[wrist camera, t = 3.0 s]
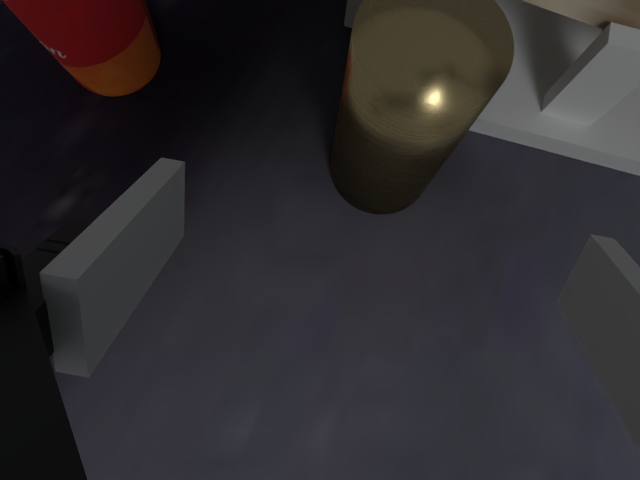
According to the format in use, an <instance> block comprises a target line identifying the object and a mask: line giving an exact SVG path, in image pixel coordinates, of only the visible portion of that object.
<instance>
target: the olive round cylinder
mask: <svg viewBox="0 0 640 480" xmlns="http://www.w3.org/2000/svg"><path fill="white" fill-rule="evenodd" d="M513 57H514V39H513V34H512V30H511V27H510V24H509V22H508V20H507V17H506V16H505V14H504V12H503V11H502V9H501V8H500V7H499V5H498V4H497V3H496V1H495V0H363V1H362V3H361V5H360V6H359V8H358V10H357V13H356V15H355V19H354V22H353V28H352V34H351V39H350V45H349V51H348V57H347V63H346V69H345V75H344V81H343V87H342V93H341V99H340V105H339V111H338V117H337V123H336V129H335V135H334V140H333V146H332V152H331V158H330V173H331V178H332V181H333V183H334V186H335V188H336V189H337V191H338V192H339V194H340V195H341V196H342V197H343V198H344V199H345V200H346V201H347V202H348V203H349V204H351V205H352V206H354V207H355V208H357V209H359V210H362V211H364V212H368V213H372V214H392V213H395V212H399V211H401V210H404V209H405V208H407V207H409V206H410V205H411V204H413V203H414V202H415V201H416V200H417V199H418V198H419V196H420V195H421V194H422V192H423V191H424V190H425V188H426V187H427V186H428V184H429V183H430V182H431V180H432V179H433V178H434V176H435V175H436V173H437V172H438V171H439V169H440V168H441V167H442V165H443V164H444V163H445V161H446V160H447V159H448V157H449V156H450V154H451V153H452V152H453V150H454V149H455V148H456V146H457V145H458V144H459V142H460V141H461V140H462V138H463V137H464V135H465V134H466V133H467V131H468V130H469V129H470V127H471V126H472V125H473V123H474V122H475V121H476V119H477V118H478V117H479V115H480V114H481V112H482V111H483V110H484V108H485V107H486V106H487V104H488V103H489V102H490V100H491V99H492V98H493V96H494V95H495V93H496V92H497V91H498V89H499V88H500V87H501V85H502V84H503V83H504V81H505V80H506V78H507V76H508V74H509V72H510V69H511V66H512V63H513Z"/></svg>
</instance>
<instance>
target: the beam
mask: <svg viewBox="0 0 640 480" xmlns="http://www.w3.org/2000/svg"><path fill="white" fill-rule="evenodd" d="M522 1H524V2H527V3H530V4H533V5H536V6H538V7H541V8H544V9H547V10H550V11H553V12H555V13H558V14H561V15H564V16H567V17H569V18H572V19H575V20H578V21H581V22H584V23H586V24H589V25H592V26H595V27H598V28H601V29H602V31H603V30H604V29H605V28H606V27H607V26H608V25H609V24H610V22H613V23H617V24H620V25H624V26H628V27H632V28H636V29H640V0H522Z"/></svg>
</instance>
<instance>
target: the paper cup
mask: <svg viewBox="0 0 640 480" xmlns="http://www.w3.org/2000/svg"><path fill="white" fill-rule="evenodd" d="M2 1H3V2H4V3H5V4H6V5H7V7H8V8H9V9H10V10H11V11H12V12H13V13H14V14H15V15H16V16H17V17H18V19H19V20H20V21H21V22H22V23H23V24H24V25H25V26H26V27H27V28H28V29H29V30H30V32H31V33H32V34H33V35H34V36H35V37H36V38H37V39H38V40H39V41H40V42H41V43H42V45H43V46H44V47H45V48H46V49H47V50H48V51H49V52H50V53H51V54H52V55H53V56H54V57H55V58H56V60H57V61H58V62H59V63H60V64H61V65H62V66H63V67H64V68H65V69H66V70H67V71H68V72H69V73H70V74H71V75H72V76H73V77H74V78H75V79H76V80H77V81H78V82H79V83H80V84H81V85H82V86H83V87H85V88H86V89H88V90H89V91H91V92H93V93H95V94H98V95H102V96H108V97H118V96H125V95H128V94H131V93H134V92H136V91H138V90H140V89H141V88H143V87H144V86H146V85H147V84H148V83H149V82H150V81H151V80H152V78H153V77H154V76H155V74H156V72H157V70H158V68H159V65H160V60H161V51H160V45H159V41H158V38H157V35H156V31H155V28H154V25H153V21H152V18H151V15H150V12H149V9H148V6H147V3H146V0H2Z"/></svg>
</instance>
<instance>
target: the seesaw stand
mask: <svg viewBox="0 0 640 480" xmlns="http://www.w3.org/2000/svg"><path fill="white" fill-rule="evenodd" d="M362 1H363V0H347V6H346V13H345V20H344V26H346V27H349V28H353V22H354V19H355V15H356V13H357V10H358V8H359V6H360V5H361V3H362ZM495 1H496V3H497V4H498V5H499V7H500V8H501V9H502V11H503V12H504V14H505V16H506V17H507V20H508V22H509V24H510V27H511V30H512V34H513V39H514V57H513V63H512V66H511V69H510V72H509V74H508V76H507V78H506V80H505V81H504V83H503V84H502V85H501V87H500V88H499V89H498V91H497V92H496V93H495V95H494V96H493V98H492V99H491V100H490V102H489V103H488V104H487V106H486V107H485V108H484V110H483V111H482V112H481V114H480V115H479V117H478V118H477V119H476V121H475V122H474V123H473V125H472V126H471V127H470V129H469V130H470V131H474V132H477V133H481V134H485V135H489V136H492V137H496V138H500V139H504V140H507V141H511V142H515V143H519V144H522V145H526V146H530V147H534V148H537V149H541V150H545V151H549V152H552V153H556V154H560V155H564V156H567V157H571V158H575V159H579V160H582V161H586V162H590V163H594V164H597V165H601V166H605V167H609V168H612V169H616V170H620V171H624V172H627V173H631V174H635V175H639V176H640V29H636V28H632V27H628V26H624V25H620V24H617V23H613V22H610V24H609V25H608V26H607V27H606V28H605V29H604V30H603V31H602V29H601V28H598V27H595V26H592V25H589V24H586V23H584V22H581V21H578V20H575V19H572V18H569V17H567V16H564V15H561V14H558V13H555V12H553V11H550V10H547V9H544V8H541V7H538V6H536V5H533V4H530V3H527V2H524V1H522V0H495Z"/></svg>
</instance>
